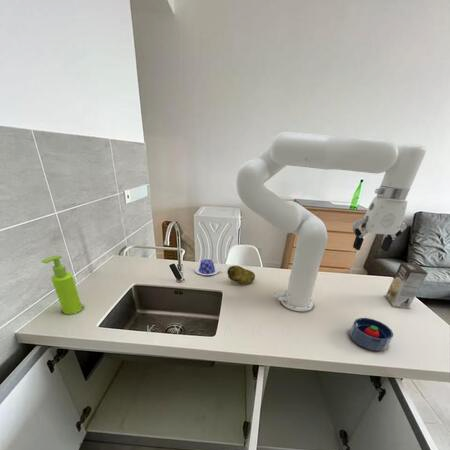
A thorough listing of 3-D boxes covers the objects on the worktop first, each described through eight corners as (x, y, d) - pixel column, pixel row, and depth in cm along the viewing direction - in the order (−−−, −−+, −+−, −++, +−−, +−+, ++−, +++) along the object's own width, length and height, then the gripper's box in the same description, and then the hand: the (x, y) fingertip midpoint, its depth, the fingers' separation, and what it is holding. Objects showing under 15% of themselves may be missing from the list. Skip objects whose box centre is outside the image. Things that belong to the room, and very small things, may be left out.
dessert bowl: (361, 352, 75) (367, 340, 72) (342, 329, 84) (347, 318, 81) (394, 351, 76) (401, 339, 73) (372, 329, 85) (378, 317, 83)
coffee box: (384, 295, 107) (400, 261, 98) (400, 297, 106) (417, 263, 97) (392, 306, 99) (410, 270, 91) (409, 309, 98) (429, 273, 90)
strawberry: (366, 343, 77) (372, 332, 75) (358, 334, 81) (363, 323, 78) (379, 343, 78) (385, 331, 75) (371, 334, 82) (376, 323, 79)
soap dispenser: (56, 313, 84) (35, 258, 73) (73, 303, 89) (56, 251, 79) (69, 317, 82) (49, 262, 72) (85, 307, 88) (70, 255, 77)
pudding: (189, 272, 117) (189, 262, 114) (202, 264, 126) (202, 254, 123) (211, 278, 112) (211, 268, 110) (223, 269, 121) (223, 259, 119)
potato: (255, 287, 107) (257, 271, 103) (226, 286, 107) (227, 269, 103) (254, 279, 114) (256, 263, 110) (226, 277, 114) (227, 261, 110)
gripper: (371, 194, 68) (350, 252, 77) (429, 198, 69) (402, 254, 78) (357, 190, 74) (339, 244, 83) (410, 193, 75) (387, 246, 84)
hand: (370, 249), depth 80 cm, fingers open, 9 cm apart
